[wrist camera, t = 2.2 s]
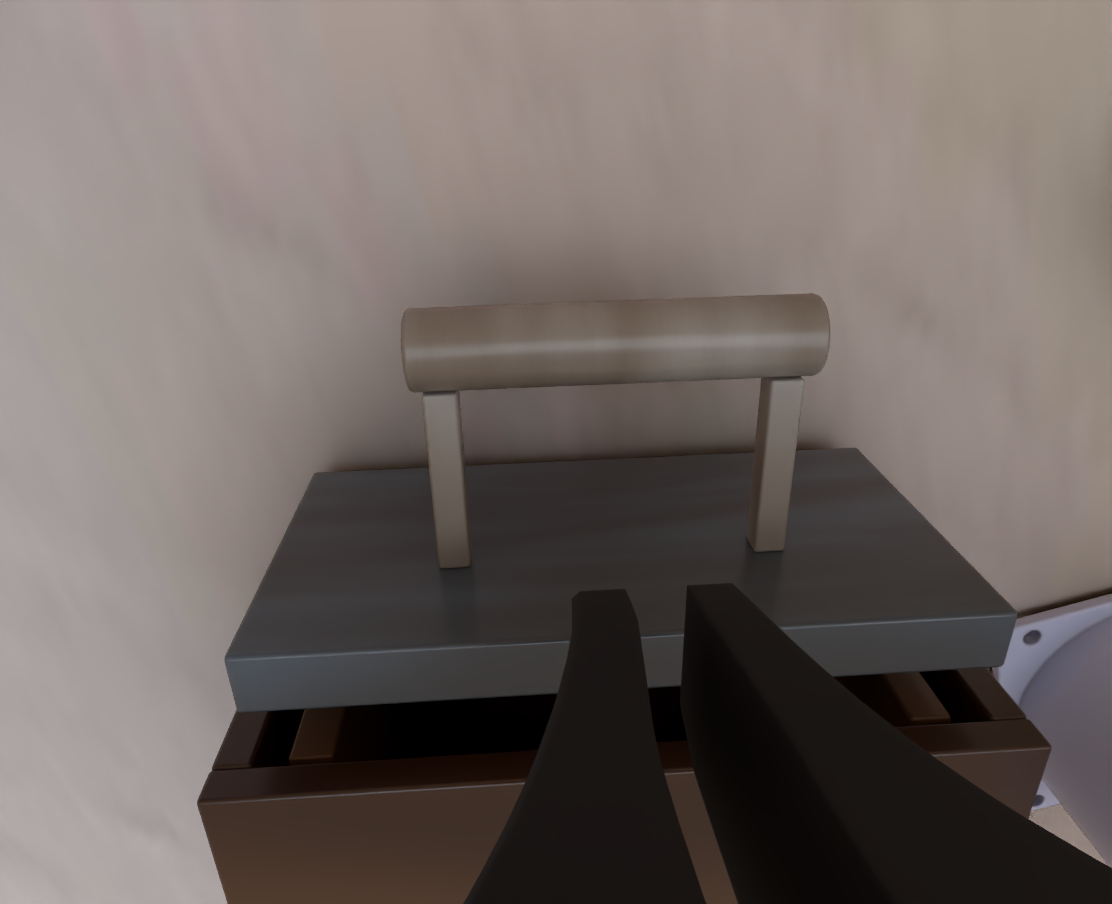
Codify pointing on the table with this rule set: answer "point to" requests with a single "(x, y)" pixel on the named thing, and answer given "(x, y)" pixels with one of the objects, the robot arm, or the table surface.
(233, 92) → the table surface
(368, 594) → the drawer
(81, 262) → the table surface
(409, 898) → the cabinet
